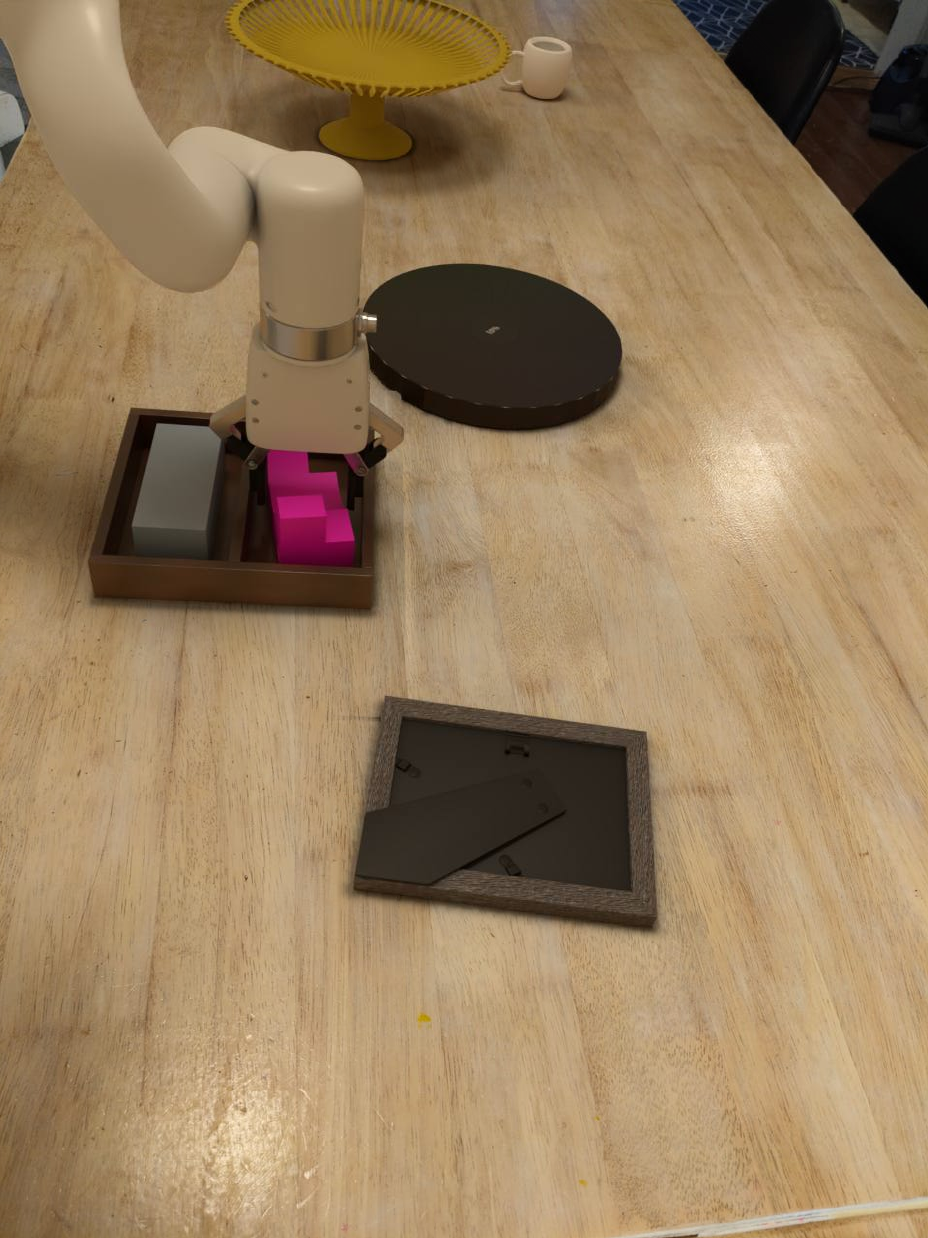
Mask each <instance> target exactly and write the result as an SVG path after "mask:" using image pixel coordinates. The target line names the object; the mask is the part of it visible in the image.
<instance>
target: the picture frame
mask: <svg viewBox="0 0 928 1238" xmlns="http://www.w3.org/2000/svg"><path fill="white" fill-rule="evenodd" d="M380 716H381V717H380V722H379V729H378V735H377V740H376V747H375V753H374V759H373V765H372V771H371V777H370V783H369V788H368V794H367V801H366V806H365V811H364V812H365V813H364V819H363V825H362V831H361V836H360V842H359V848H358V853H357V854H358V855H357V860H356V866H355V872H354V878H353V889H354V890H360V891H369V892H375V893H376V892H377V893H385V894H392V895H399V896H407V897H415V898H421V899H422V898H423V899H430V900H437V901H445V902H453V903H454V902H455V903H461V904H467V905H475V906H482V907H483V906H484V907H490V908H498V909H504V910H513V911H522V912H529V913H536V914H545V915H552V916H561V917H568V918H575V919H582V920H590V921H599V922H605V923H606V922H607V923H612V924H620V925H621V924H622V925H629V926H636V927H642V928H643V927H644V928H652V927H653V925H654V924H655V922H656V920H657V918H658V906H657V890H656V888H657V887H656V872H655V855H654V853H655V852H654V838H653V835H654V834H653V819H652V817H653V816H652V802H651V785H650V770H649V769H650V768H649V751H648V749H649V748H648V733H647V731H646V730H645V731H643V730H638V729H632V728H624V727H617V726H608V725H601V724H595V723H587V722H580V721H572V720H565V719H560V718H559V719H558V718H551V717H543V716H536V715H529V714H521V713H516V712H515V713H514V712H506V711H499V710H494V709H493V710H492V709H485V708H478V707H471V706H464V705H457V704H450V703H441V702H434V701H427V700H421V699H415V698H414V699H413V698H406V697H399V696H393V695H392V696H391V695H384V699H383V703H382V710H381V715H380Z"/></svg>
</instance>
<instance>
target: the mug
mask: <svg viewBox="0 0 928 1238" xmlns="http://www.w3.org/2000/svg"><path fill="white" fill-rule="evenodd" d="M510 51H511V52H513V53H512V54H510V55H509V56H511V57H513V56H518V57H521V60H520V79H518V80H516V81H509V80H508V79H507V78H506V74H505V68H506V67H504V68H502V69H501V70H503V71H501V72H499V77H500V80H501V82H502V83H503V84H504V85H505V86H507V87H513V88H514V87H518V86H519V85H522V88H523V90H524V92H525V93H526V94H527V95H529V96H530V97H533V98H537V99H541V100H553V99H557V98H558V97H559V96H560V95H561V94H562V93H563V91H564V90H565V88H566V85H567V83H568V80H569V78H570V74H571V70H572V64H573V48H572V46H571V45H570V44H568V43H567V42H566V41H563V40H562V39H559V38H556V37H551V36H534V37H531V38H528V39H527V41H526V43H525V44H524V47H523V50H522V51H521V50H518V49H517V50H510ZM505 65H506V66H507V64H505Z"/></svg>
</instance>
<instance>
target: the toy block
mask: <svg viewBox="0 0 928 1238" xmlns="http://www.w3.org/2000/svg"><path fill="white" fill-rule="evenodd" d="M267 458H268V489H267V499H268V506H269V512H270V518H271V524H272V530H273V537H274V543H275V549H276V555H277V562H278V564H294V565H314V566H334V567H353V560H354V544H355V540H354V535H353V531H352V527H351V523H350V518H349V514H348V510H347V509H345V507H344V506H343V503H342V500H341V496H340V492H339V487H338V481H337V473H336V472H323V473H309V467H308V456H307V452H302V451H287V450H274V449H271V450H270V451H269V453H268V454H267Z"/></svg>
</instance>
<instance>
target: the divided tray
mask: <svg viewBox="0 0 928 1238" xmlns="http://www.w3.org/2000/svg"><path fill="white" fill-rule="evenodd" d="M214 413H215V412H205V411H191V410H190V411H189V410H175V409H159V408H146V407H130V408H129V411H128V416H127V419H126V423H125V426H124V430H123V434H122V437H121V441H120V444H119V448H118V450H117V451H118V452H117V454H116V459H115V462H114V466H113V469H112V473H111V476H110V480H109V484H108V487H107V491H106V494H105V498H104V501H103V505H102V509H101V512H100V516H99V519H98V523H97V527H96V530H95V533H94V538H93V541H92V544H91V548H90V552H89V555H88V560H87V566H88V572H89V577H90V581H91V586H92V592H93V596H94V598H100V599H101V598H106V599H123V600H124V599H127V600H147V601H148V600H149V601H151V600H152V601H170V602H171V601H172V602H193V603H215V604H234V605H235V604H237V605H260V606H281V607H282V606H283V607H301V608H303V607H305V608H324V609H325V608H326V609H347V610H348V609H350V610H370V611H371V610H372V599H373V589H374V587H373V586H374V573H375V572H374V568H375V567H374V565H375V564H374V563H375V561H374V560H375V559H374V557H375V553H374V552H375V465H374V466H373V467H371V468H370V469H368V474H367V475H365V476H364V487H363V498H361V497H355V507H354V511H351V510H349V509H347V510H348V514H349V518H350V523H351V527H352V531H353V535H354V540H355V544H354V560H353V567H334V566H314V565H294V564H278V562H277V555H276V549H275V543H274V537H273V530H272V524H271V518H270V512H269V506H268V499H267V498H266V504H264V505H263V506H261V505H257V491H250V482H249V469H248V468H246V467H245V462H244V461H243V460H242V459H241V458H239V457H238V456H237V455H236V454H234V453H233V452H232V451H231V450H229V449H228V448H227V446H226V443H225V442H224V446H225V463H226V472H225V478H224V484H223V491H222V497H221V503H220V509H219V515H218V521H217V528H216V534H215V540H214V546H213V552H212V558H211V560H194V559H174V558H154V557H136V551H135V544H134V538H133V531H132V523H133V519H134V515H135V511H136V507H137V502H138V498H139V494H140V490H141V486H142V482H143V478H144V474H145V470H146V466H147V462H148V458H149V454H150V449H151V445H152V441H153V437H154V433H155V429H156V425H157V423H159V424H174V425H189V426H204V427H209V424H210V418H211V415H212V414H214ZM234 426H235V428H238V429H240V430H241V431H242V432H243V433H245V434H246V435H247V433H246V418H244V419H243V420H241V421H239V422H238V423H236V424H234ZM375 434H376V431H375V430H374V429H373V428H371V427H370V426H369V429H368V437H367V443H366V445H367V444H368V443H370V442H371V441H373V440H374V439H376V438H375V437H376V435H375ZM307 456H308V467H309V473H323V472H336V473H337V481H338V487H339V492H340V496H341V500H342V503H343V506H344V507H345V509H346V508H347V483H348V464H349V463H348V461H347V460H346V458H345V456H344V455H343V454H338V453H318V452H307Z"/></svg>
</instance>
